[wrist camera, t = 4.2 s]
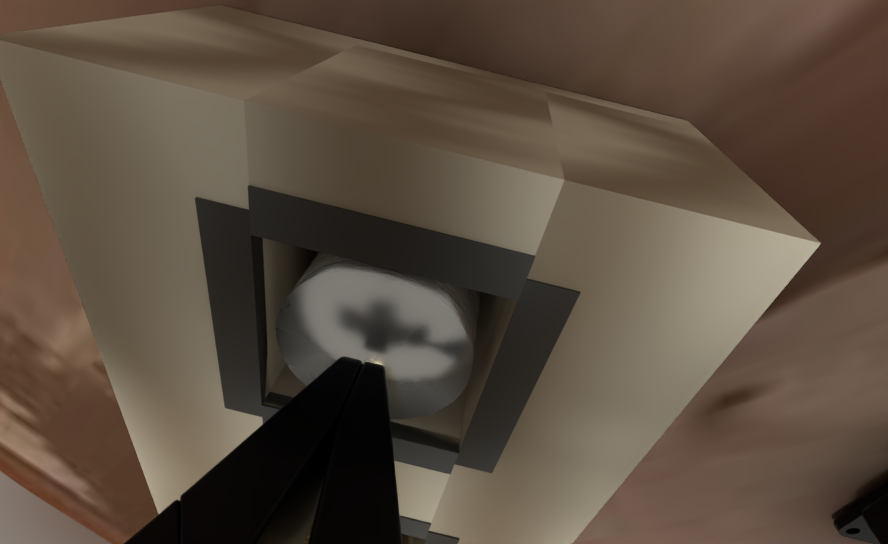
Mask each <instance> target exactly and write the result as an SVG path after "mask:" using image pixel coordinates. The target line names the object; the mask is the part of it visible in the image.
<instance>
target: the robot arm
mask: <svg viewBox="0 0 888 544" xmlns="http://www.w3.org/2000/svg"><path fill="white" fill-rule="evenodd" d="M314 517H315V518H314ZM313 520H314V522H313ZM312 522H313V526H312V530H311V535H310V539H309V543H308V544H403V543H402V533H401V523H400V513H399V503H398V493H397V483H396V473H395V463H394V453H393V443H392V432H391V422H390V412H389V402H388V392H387V382H386V372H385V368H384V366H382V365H379V364H375V363H370V362H364V363H362V361H361V360H358V359H354V358H350V357H346V356H343V357H340V358H339V359H337V360H336V361H335V362H334V363H333V364H332V365H330V366H329V367H328V368H327V369H326V370H325V371H324V372H322V373H321V374H320V375H319V376H318V377H317V378H315V379H314V380H313V381H312V382H311V383H310V384H309V385H307V386H306V387H305V388H304V389H303V390H302V391H300V392H299V393H298V394H297V395H296V396H295V397H294V398H292V399H291V400H290V401H289V402H288V403H287V404H286V405H284V406H283V407H282V408H281V409H280V410H279V411H277V412H276V413H275V414H274V415H273V416H272V417H271V418H269V419H268V420H267V421H266V422H265V423H264V424H263V425H261V426H260V427H259V428H258V429H257V430H256V431H254V432H253V433H252V434H251V435H250V436H249V437H248V438H246V439H245V440H244V441H243V442H242V443H241V444H240V445H238V446H237V447H236V448H235V449H234V450H233V451H231V452H230V453H229V454H228V455H227V456H226V457H225V458H223V459H222V460H221V461H220V462H219V463H218V464H216V465H215V466H214V467H213V468H212V469H211V470H210V471H208V472H207V473H206V474H205V475H204V476H203V477H202V478H200V479H199V480H198V481H197V482H196V483H195V484H193V485H192V486H191V487H190V488H189V489H188V490H187V491H185V492H184V493H183V494H182V495H181V497H180V501H179V500H175V501H174V502H172V503H171V504H170V505H169V506H168V507H167V508H166V509H164V510H163V511H162V512H161V513H160V514H159V515H158V516H156V517H155V518H154V519H153V520H152V521H151V522H149V523H148V524H147V525H146V526H145V527H143V528H142V529H141V530H140V531H139V532H137V533H136V534H135V535H134V536H133V537H131V538H130V539H129V540H128V541H126V542H125V543H124V544H303V542H304V540H305V538H306V535H307V533H308V531H309V529H310V526H311V524H312ZM834 525H835V527H836V529H837V530H838V532H839V534H840V535H842V536H845V537H849V538H853V539H857V540H861V541H865V542H869V543H873V544H888V484H887V485H886V486H884V487H883V488H881V489H880V490H878V491H877V492H875V493H874V494H872V495H871V496H869V497H868V498H866V499H865V500H863V501H862V502H860V503H859V504H857V505H856V506H854V507H853V508H851V509H850V510H848V511H847V512H845V513H844V514H842V515H841V516H839V517H838V518H836V519H835V520H834Z"/></svg>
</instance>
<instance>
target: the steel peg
mask: <svg viewBox="0 0 888 544" xmlns="http://www.w3.org/2000/svg"><path fill="white" fill-rule="evenodd" d="M480 296H481V292H480V291H476V290H472V289H468V288H464V287H459V286H455V285H451V284H447V283H443V282H439V281H435V280H431V279H427V278H423V277H419V276H415V275H411V274H407V273H403V272H399V271H395V270H390V269H386V268H382V267H378V266H374V265H370V264H366V263H362V262H358V261H354V260H350V259H346V258H342V257H338V256H334V255H330V254H326V253H321V252H318V254H317V255H316V257H315V258H314V260H313V261H312V262H311V264H310V265H309V267H308V268H307V270H306V271H305V273H304V274H303V275H302V277H301V278H300V280H299V281H298V283H297V284H296V285H295V287H294V288H293V290H292V291H291V293H290V294H289V296H288V297H287V298H286V300H285V301H284V303H283V304H282V306H281V309H280V311H279V313H278V317H277V321H276V338H277V343H278V346H279V350H280V352H281V354H282V356H283V359H284V360H285V362H286V363H287V365H288V367H289V368H290V369H291V371H292V372H293V373H294V374H295V376H296V377H297V378H298V379H299V380H300V381H301V382H302V383H303V384H304V385H305V386H307V385H309V384H310V383H311V382H312V381H313V380H314V379H315V378H317V377H318V376H319V375H320V374H321V373H322V372H324V371H325V370H326V369H327V368H328V367H329V366H330V365H332V364H333V363H334V362H335V361H336V360H337V359H339V358H340V357H343V356H346V357H350V358H354V359H358V360H361V361H362V363H364V362H370V363H375V364H379V365H382V366H384V368H385V372H386V382H387V392H388V402H389V412H390V419H409V418H416V417H421V416H425V415H429V414H431V413H434V412H437V411H439V410H441V409H443V408H445V407H446V406H448V405H449V404H451V403H452V402H453V401H455V400H456V399H457V398H458V397H459V396H460V395H461V393H462V392H463V391H464V389H465V388H466V386H467V384H468V382H469V380H470V376H471V372H472V367H473V358H474V349H475V340H476V331H477V323H478V314H479V305H480Z"/></svg>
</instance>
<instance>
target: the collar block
mask: <svg viewBox="0 0 888 544" xmlns="http://www.w3.org/2000/svg"><path fill="white" fill-rule="evenodd" d="M0 80H1V83H2V85H3V88H4V91H5V94H6V96H7V99H8V102H9V105H10V107H11V110H12V113H13V116H14V118H15V121H16V124H17V127H18V129H19V132H20V135H21V138H22V140H23V143H24V146H25V149H26V151H27V154H28V157H29V159H30V162H31V165H32V168H33V170H34V173H35V176H36V179H37V181H38V184H39V187H40V190H41V192H42V195H43V198H44V201H45V203H46V206H47V209H48V212H49V214H50V217H51V220H52V223H53V225H54V228H55V231H56V234H57V236H58V239H59V242H60V245H61V247H62V250H63V253H64V256H65V258H66V261H67V264H68V267H69V269H70V272H71V275H72V277H73V280H74V283H75V286H76V288H77V291H78V294H79V297H80V299H81V302H82V305H83V308H84V310H85V313H86V316H87V319H88V321H89V324H90V327H91V330H92V332H93V335H94V338H95V341H96V343H97V346H98V349H99V352H100V354H101V357H102V360H103V363H104V365H105V368H106V371H107V374H108V376H109V379H110V382H111V384H112V387H113V390H114V393H115V395H116V398H117V401H118V404H119V406H120V409H121V412H122V415H123V417H124V420H125V423H126V426H127V428H128V431H129V434H130V437H131V439H132V442H133V445H134V448H135V450H136V453H137V456H138V459H139V461H140V464H141V467H142V470H143V472H144V475H145V478H146V481H147V483H148V486H149V489H150V492H151V494H152V497H153V500H154V502H155V505H156V508H157V511H158V513H159V514H160V513H161V512H162V511H163V510H164V509H166V508H167V507H168V506H169V505H170V504H171V503H172V502H174V501H175V500H179V501H180V497H181V495H182V494H183V493H184V492H185V491H187V490H188V489H189V488H190V487H191V486H192V485H193V484H195V483H196V482H197V481H198V480H199V479H200V478H202V477H203V476H204V475H205V474H206V473H207V472H208V471H210V470H211V469H212V468H213V467H214V466H215V465H216V464H218V463H219V462H220V461H221V460H222V459H223V458H225V457H226V456H227V455H228V454H229V453H230V452H231V451H233V450H234V449H235V448H236V447H237V446H238V445H240V444H241V443H242V442H243V441H244V440H245V439H246V438H248V437H249V436H250V435H251V434H252V433H253V432H254V431H256V430H257V429H258V428H259V427H260V426H261V425H263V424H264V423H265V422H266V421H267V420H268V419H269V418H271V417H272V416H273V415H274V414H275V413H276V412H277V411H279V410H280V409H281V408H282V407H283V406H284V405H286V404H287V403H288V402H289V401H290V400H291V399H292V398H294V397H295V396H296V395H297V394H298V393H299V392H300V391H302V390H303V389H304V388H305V387H306V386H305V385H304V384H303V383H302V382H301V381H300V380H299V379H298V378H297V377H296V376H295V374H294V373H293V372H292V371H291V369H290V368H289V367H288V365H287V363H286V362H285V360H284V359H283V356H282V354H281V352H280V350H279V346H278V343H277V338H276V321H277V317H278V313H279V311H280V309H281V306H282V304H283V303H284V301H285V300H286V298H287V297H288V296H289V294H290V293H291V291H292V290H293V288H294V287H295V285H296V284H297V283H298V281H299V280H300V278H301V277H302V275H303V274H304V273H305V271H306V270H307V268H308V267H309V265H310V264H311V262H312V261H313V260H314V258H315V257H316V255H317V254H318V252H321V253H326V254H330V255H334V256H338V257H342V258H346V259H350V260H354V261H358V262H362V263H366V264H370V265H374V266H378V267H382V268H386V269H390V270H395V271H399V272H403V273H407V274H411V275H415V276H419V277H423V278H427V279H431V280H435V281H439V282H443V283H447V284H451V285H455V286H459V287H464V288H468V289H472V290H476V291H480V292H481V296H480V305H479V314H478V323H477V331H476V340H475V349H474V358H473V367H472V372H471V376H470V380H469V382H468V384H467V386H466V388H465V389H464V391H463V392H462V393H461V395H460V396H459V397H458V398H457V399H456V400H455V401H453V402H452V403H451V404H449V405H448V406H446V407H445V408H443V409H441V410H439V411H437V412H434V413H431V414H429V415H425V416H421V417H416V418H409V419H390V422H391V432H392V443H393V453H394V463H395V473H396V483H397V493H398V503H399V513H400V523H401V533H402V534H404V535H409V536H410V537H409V542H408V544H572V543H573V542H574V541H575V539H576V538H577V537H578V536H579V535H580V533H581V532H582V531H583V530H584V529H585V527H586V526H587V525H588V524H589V522H590V521H591V520H592V519H593V518H594V516H595V515H596V514H597V513H598V512H599V510H600V509H601V508H602V507H603V506H604V504H605V503H606V502H607V501H608V500H609V498H610V497H611V496H612V495H613V494H614V492H615V491H616V490H617V489H618V488H619V486H620V485H621V484H622V483H623V482H624V480H625V479H626V478H627V477H628V476H629V474H630V473H631V472H632V471H633V469H634V468H635V467H636V466H637V465H638V463H639V462H640V461H641V460H642V459H643V457H644V456H645V455H646V454H647V453H648V451H649V450H650V449H651V448H652V447H653V445H654V444H655V443H656V442H657V441H658V439H659V438H660V437H661V436H662V435H663V433H664V432H665V431H666V430H667V429H668V427H669V426H670V425H671V424H672V423H673V421H674V420H675V419H676V418H677V416H678V415H679V414H680V413H681V412H682V410H683V409H684V408H685V407H686V406H687V404H688V403H689V402H690V401H691V400H692V398H693V397H694V396H695V395H696V394H697V392H698V391H699V390H700V389H701V388H702V386H703V385H704V384H705V383H706V382H707V380H708V379H709V378H710V377H711V376H712V374H713V373H714V372H715V371H716V370H717V368H718V367H719V366H720V365H721V363H722V362H723V361H724V360H725V359H726V357H727V356H728V355H729V354H730V353H731V351H732V350H733V349H734V348H735V347H736V345H737V344H738V343H739V342H740V341H741V339H742V338H743V337H744V336H745V335H746V333H747V332H748V331H749V330H750V329H751V327H752V326H753V325H754V324H755V323H756V321H757V320H758V319H759V318H760V317H761V315H762V314H763V313H764V312H765V310H766V309H767V308H768V307H769V306H770V304H771V303H772V302H773V301H774V300H775V298H776V297H777V296H778V295H779V294H780V292H781V291H782V290H783V289H784V288H785V286H786V285H787V284H788V283H789V282H790V280H791V279H792V278H793V277H794V276H795V274H796V273H797V272H798V271H799V270H800V268H801V267H802V266H803V265H804V264H805V262H806V261H807V260H808V259H809V257H810V256H811V255H812V254H813V253H814V251H815V250H816V249H817V248H818V247H819V245H820V244H821V243H820V242H819V241H818V240H817V239H816V238H815V237H814V236H812V235H811V234H810V233H809V232H808V231H807V230H806V229H805V228H804V227H803V226H802V225H801V224H799V223H798V222H797V221H796V220H795V219H794V218H793V217H792V216H791V215H790V214H789V213H787V212H786V211H785V210H784V209H783V208H782V207H781V206H780V205H779V204H778V203H777V202H776V201H774V200H773V199H772V198H771V197H770V196H769V195H768V194H767V193H766V192H765V191H764V190H762V189H761V188H760V187H759V186H758V185H757V184H756V183H755V182H754V181H753V180H752V179H751V178H749V177H748V176H747V175H746V174H745V173H744V172H743V171H742V170H741V169H740V168H739V167H737V166H736V165H735V164H734V163H733V162H732V161H731V160H730V159H729V158H728V157H727V156H726V155H724V154H723V153H722V152H721V151H720V150H719V149H718V148H717V147H716V146H715V145H714V144H712V143H711V142H710V141H709V140H708V139H707V138H706V137H705V136H704V135H703V134H702V133H701V132H699V131H698V130H697V129H696V128H695V127H694V126H693V125H692V124H691V123H690V122H689V121H687V120H683V119H679V118H675V117H671V116H667V115H662V114H658V113H654V112H650V111H646V110H642V109H638V108H634V107H630V106H626V105H622V104H618V103H614V102H610V101H606V100H602V99H598V98H594V97H590V96H586V95H582V94H578V93H574V92H570V91H566V90H562V89H558V88H554V87H550V86H546V85H542V84H538V83H534V82H530V81H526V80H522V79H518V78H513V77H509V76H505V75H501V74H497V73H493V72H489V71H485V70H481V69H477V68H473V67H469V66H465V65H461V64H457V63H453V62H449V61H445V60H441V59H437V58H433V57H429V56H425V55H421V54H417V53H413V52H409V51H405V50H401V49H397V48H393V47H389V46H385V45H381V44H377V43H373V42H369V41H364V40H360V39H356V38H352V37H348V36H344V35H340V34H336V33H332V32H328V31H324V30H320V29H316V28H312V27H308V26H304V25H300V24H296V23H292V22H288V21H284V20H280V19H276V18H272V17H268V16H264V15H260V14H256V13H252V12H248V11H244V10H240V9H236V8H232V7H228V6H224V5H214V6H207V7H199V8H192V9H185V10H177V11H170V12H162V13H155V14H147V15H140V16H133V17H125V18H118V19H110V20H103V21H95V22H88V23H81V24H73V25H66V26H58V27H51V28H43V29H36V30H29V31H21V32H14V33H6V34H0Z"/></svg>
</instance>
